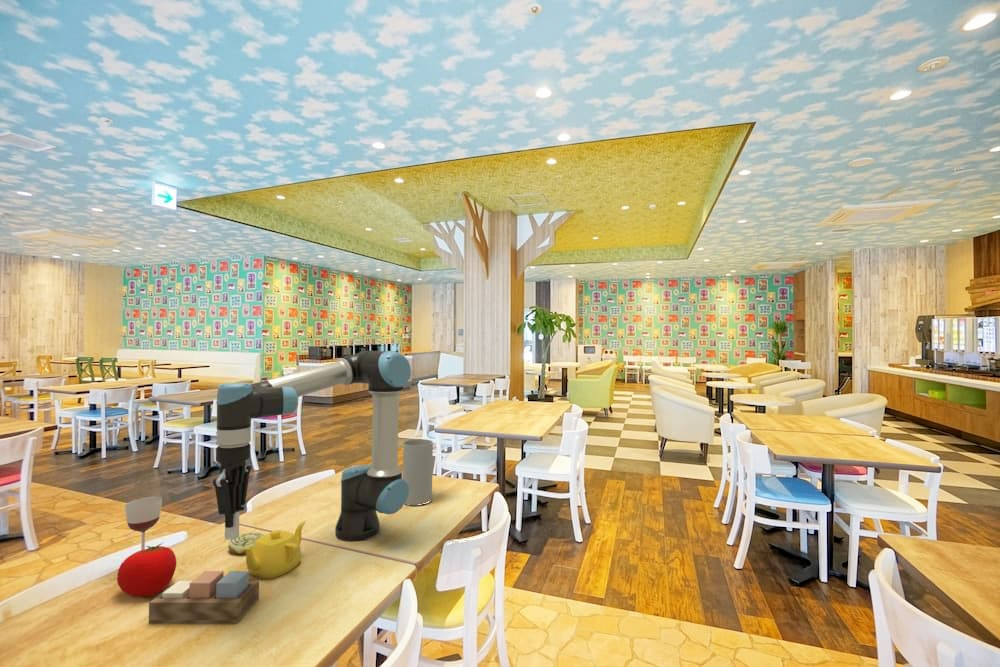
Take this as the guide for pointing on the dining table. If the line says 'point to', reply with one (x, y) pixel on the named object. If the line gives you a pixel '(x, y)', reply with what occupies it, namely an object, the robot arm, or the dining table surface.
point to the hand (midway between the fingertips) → (231, 538)
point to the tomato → (147, 571)
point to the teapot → (274, 553)
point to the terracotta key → (205, 585)
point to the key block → (203, 608)
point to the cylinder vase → (418, 470)
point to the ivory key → (177, 590)
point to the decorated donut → (243, 542)
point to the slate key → (232, 585)
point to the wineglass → (143, 514)
